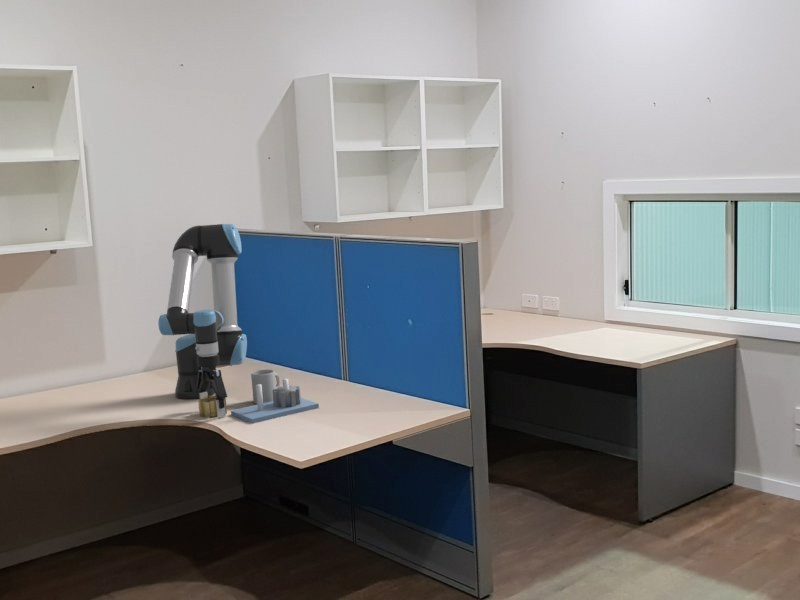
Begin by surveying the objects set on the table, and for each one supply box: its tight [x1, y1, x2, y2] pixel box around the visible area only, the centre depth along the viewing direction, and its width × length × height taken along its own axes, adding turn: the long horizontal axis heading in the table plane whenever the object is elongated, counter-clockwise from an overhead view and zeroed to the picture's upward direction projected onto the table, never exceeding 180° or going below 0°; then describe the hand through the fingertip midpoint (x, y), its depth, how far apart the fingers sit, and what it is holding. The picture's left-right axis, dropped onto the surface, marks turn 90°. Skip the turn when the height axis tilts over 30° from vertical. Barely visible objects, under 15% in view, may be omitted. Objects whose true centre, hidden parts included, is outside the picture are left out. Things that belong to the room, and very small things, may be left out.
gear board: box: [230, 378, 320, 424], centre depth 325 cm, size 16×26×10 cm, turn 126°
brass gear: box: [197, 394, 228, 419], centre depth 327 cm, size 10×10×6 cm
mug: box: [250, 369, 281, 405], centre depth 341 cm, size 12×8×11 cm
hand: (213, 413), depth 327 cm, fingers open, 13 cm apart
